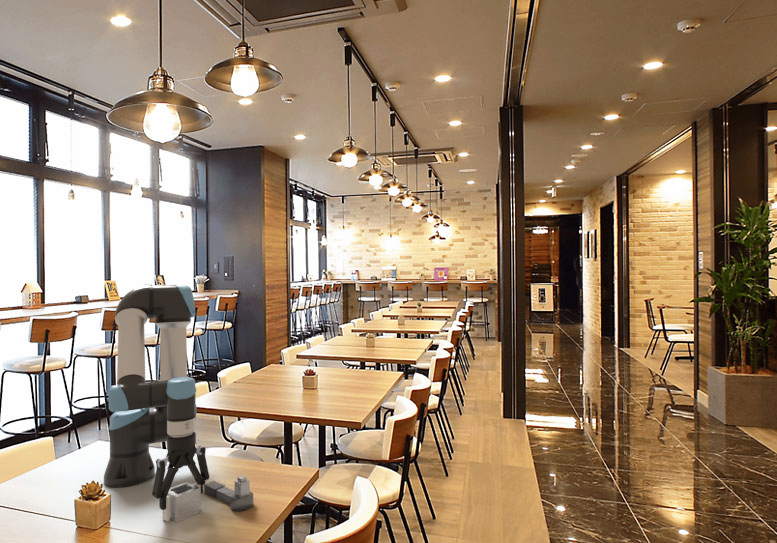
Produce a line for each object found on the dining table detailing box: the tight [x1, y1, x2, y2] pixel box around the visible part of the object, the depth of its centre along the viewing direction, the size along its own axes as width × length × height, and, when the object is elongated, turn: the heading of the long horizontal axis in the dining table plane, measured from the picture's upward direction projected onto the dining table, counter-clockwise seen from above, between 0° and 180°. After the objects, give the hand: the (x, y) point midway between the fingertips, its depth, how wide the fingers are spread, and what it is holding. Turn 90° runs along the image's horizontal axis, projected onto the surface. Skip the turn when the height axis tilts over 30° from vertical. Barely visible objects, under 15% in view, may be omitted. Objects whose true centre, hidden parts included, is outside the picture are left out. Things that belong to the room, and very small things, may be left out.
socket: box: [167, 481, 201, 523], centre depth 137 cm, size 7×7×7 cm
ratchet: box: [203, 475, 254, 512], centre depth 146 cm, size 20×6×8 cm, turn 53°
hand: (181, 513), depth 137 cm, fingers open, 9 cm apart
